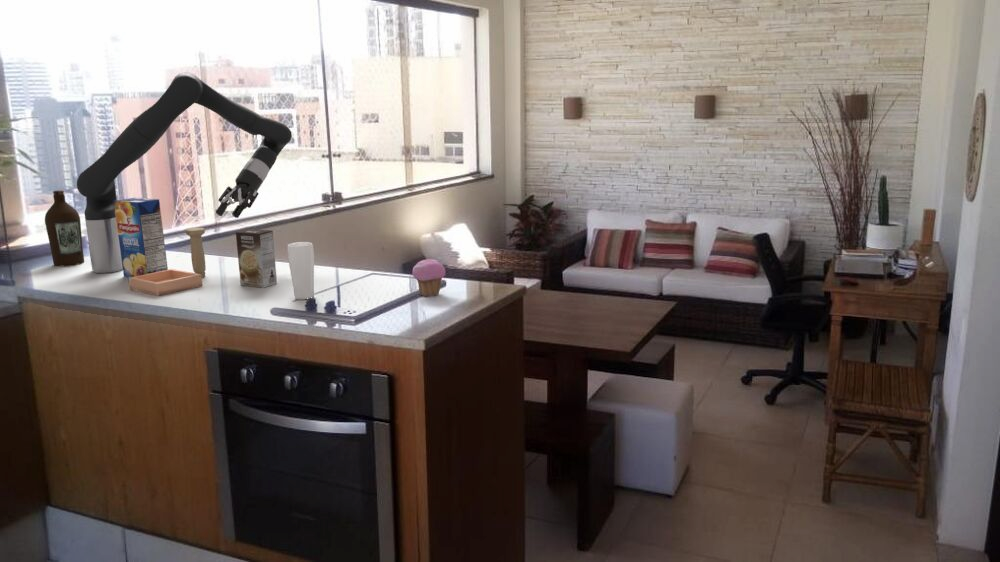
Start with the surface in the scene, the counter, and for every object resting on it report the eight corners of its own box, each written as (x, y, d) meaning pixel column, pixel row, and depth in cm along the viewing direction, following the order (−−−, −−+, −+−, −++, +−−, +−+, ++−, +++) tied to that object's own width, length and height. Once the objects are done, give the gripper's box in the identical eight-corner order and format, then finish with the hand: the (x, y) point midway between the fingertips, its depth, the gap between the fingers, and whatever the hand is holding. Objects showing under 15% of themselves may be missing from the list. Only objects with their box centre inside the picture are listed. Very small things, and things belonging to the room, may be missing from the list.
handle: (198, 279, 251) (193, 231, 248) (187, 277, 255) (182, 229, 252) (213, 276, 255) (207, 228, 251) (201, 274, 259) (196, 227, 255)
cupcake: (441, 290, 229) (439, 254, 227) (450, 296, 221) (448, 260, 219) (410, 293, 226) (408, 258, 224) (418, 300, 218) (416, 263, 216)
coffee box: (239, 285, 242) (233, 231, 238) (254, 280, 247) (249, 228, 244) (264, 288, 238) (258, 233, 234) (278, 283, 243) (273, 229, 240)
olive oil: (47, 264, 282) (36, 191, 276) (80, 259, 289) (69, 188, 283) (57, 268, 274) (45, 193, 268) (90, 263, 281) (80, 190, 276)
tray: (130, 289, 240) (128, 277, 240) (173, 280, 251) (172, 268, 251) (158, 295, 232) (157, 283, 231) (202, 285, 243) (201, 274, 242)
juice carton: (123, 276, 258) (113, 200, 253) (144, 271, 265) (134, 197, 259) (148, 280, 252) (138, 202, 247) (168, 275, 259) (159, 199, 253)
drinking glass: (304, 302, 220) (299, 247, 217) (286, 299, 224) (281, 245, 220) (322, 296, 226) (318, 242, 222) (304, 293, 229) (300, 241, 226)
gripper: (231, 167, 268) (204, 206, 261) (259, 168, 259) (232, 209, 253) (246, 181, 273) (220, 221, 267) (274, 183, 265) (248, 224, 258)
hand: (226, 215), depth 260 cm, fingers open, 8 cm apart
